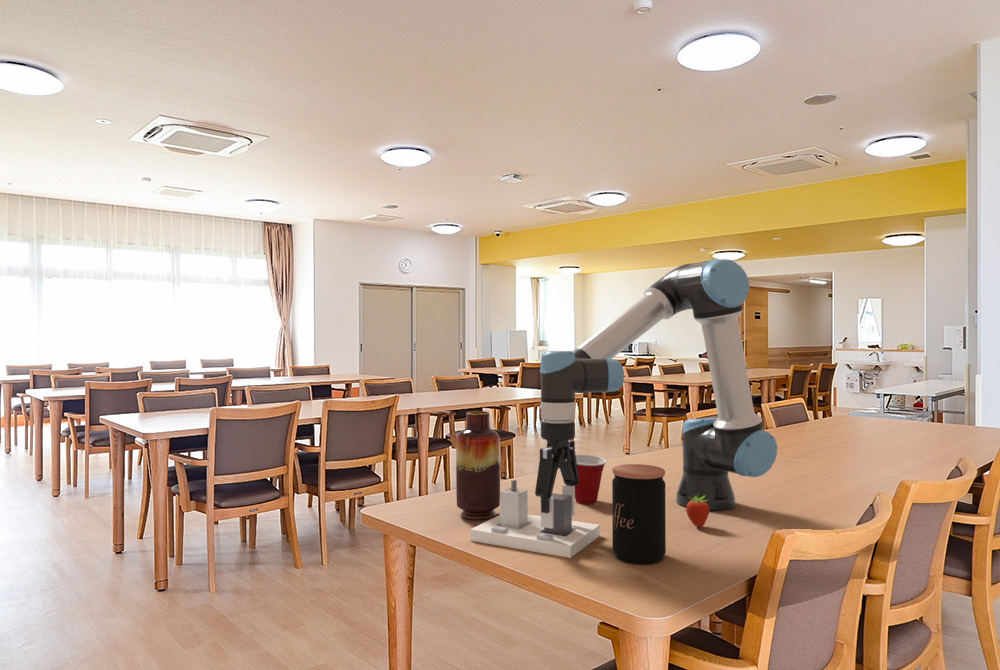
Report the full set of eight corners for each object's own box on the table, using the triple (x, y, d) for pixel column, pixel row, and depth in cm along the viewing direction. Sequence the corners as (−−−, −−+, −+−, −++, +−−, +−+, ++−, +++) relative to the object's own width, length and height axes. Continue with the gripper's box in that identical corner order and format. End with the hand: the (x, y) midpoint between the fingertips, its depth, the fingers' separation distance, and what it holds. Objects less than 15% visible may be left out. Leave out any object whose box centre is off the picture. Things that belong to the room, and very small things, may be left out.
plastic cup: (586, 508, 173) (586, 463, 173) (558, 500, 182) (558, 457, 182) (615, 502, 180) (614, 458, 180) (587, 494, 188) (586, 452, 188)
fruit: (705, 531, 153) (705, 497, 153) (683, 528, 156) (683, 494, 156) (711, 525, 157) (711, 492, 157) (690, 522, 160) (690, 489, 160)
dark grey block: (571, 540, 147) (571, 495, 147) (563, 546, 143) (563, 500, 143) (552, 537, 149) (552, 493, 149) (544, 543, 145) (544, 497, 145)
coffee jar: (606, 549, 141) (606, 464, 141) (655, 547, 142) (655, 463, 142) (620, 566, 130) (619, 475, 130) (673, 564, 131) (672, 473, 131)
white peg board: (599, 535, 150) (599, 481, 150) (570, 558, 135) (570, 497, 135) (506, 521, 162) (506, 470, 162) (470, 540, 147) (470, 484, 147)
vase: (467, 523, 160) (467, 416, 160) (449, 513, 170) (449, 411, 170) (507, 517, 165) (507, 413, 165) (488, 507, 175) (487, 409, 175)
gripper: (563, 414, 158) (563, 506, 158) (518, 426, 137) (518, 532, 137) (593, 416, 154) (593, 510, 154) (551, 428, 134) (551, 537, 134)
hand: (558, 520), depth 146 cm, fingers open, 11 cm apart
